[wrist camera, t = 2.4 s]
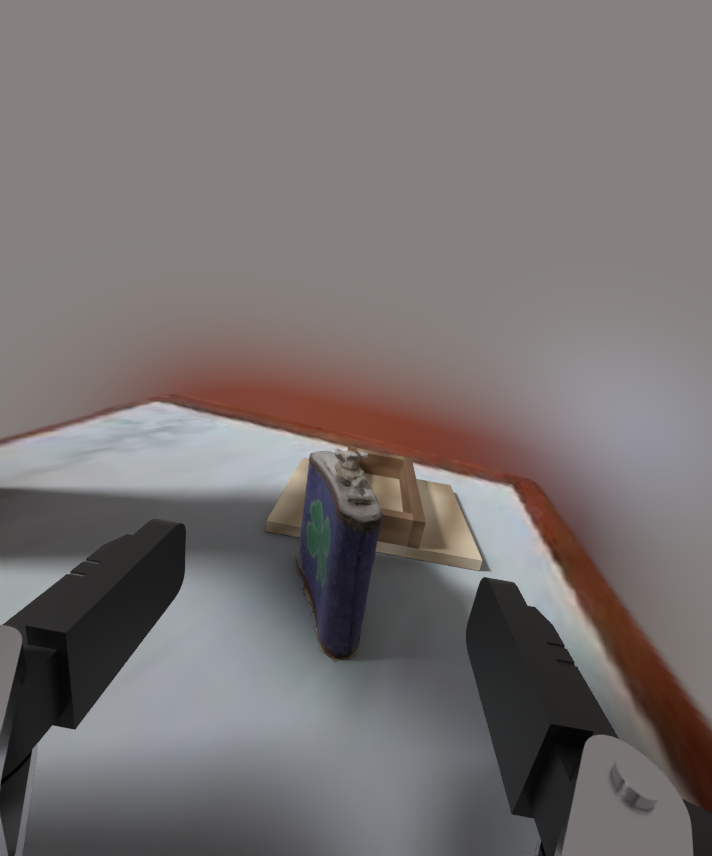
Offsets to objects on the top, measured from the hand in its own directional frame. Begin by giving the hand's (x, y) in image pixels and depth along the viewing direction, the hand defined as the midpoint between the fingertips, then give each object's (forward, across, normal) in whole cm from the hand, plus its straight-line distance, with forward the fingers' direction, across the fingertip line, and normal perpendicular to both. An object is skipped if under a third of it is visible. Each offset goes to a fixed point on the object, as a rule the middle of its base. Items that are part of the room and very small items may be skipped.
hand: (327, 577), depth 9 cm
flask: (+12, 0, +11) cm, 16 cm away
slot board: (+24, -3, +11) cm, 27 cm away
